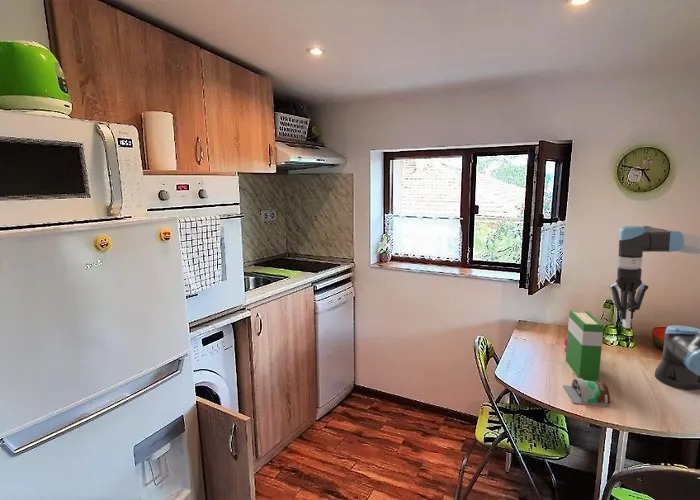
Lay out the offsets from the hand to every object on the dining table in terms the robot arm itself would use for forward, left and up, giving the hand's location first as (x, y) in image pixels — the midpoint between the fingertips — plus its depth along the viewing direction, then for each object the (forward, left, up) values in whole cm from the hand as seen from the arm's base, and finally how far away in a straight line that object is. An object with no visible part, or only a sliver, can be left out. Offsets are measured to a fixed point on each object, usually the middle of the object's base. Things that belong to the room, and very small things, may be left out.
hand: (626, 326), depth 158 cm
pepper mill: (+7, -34, -26) cm, 44 cm away
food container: (+8, +8, -23) cm, 25 cm away
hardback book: (+9, -15, -26) cm, 32 cm away
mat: (+15, +8, -26) cm, 31 cm away
